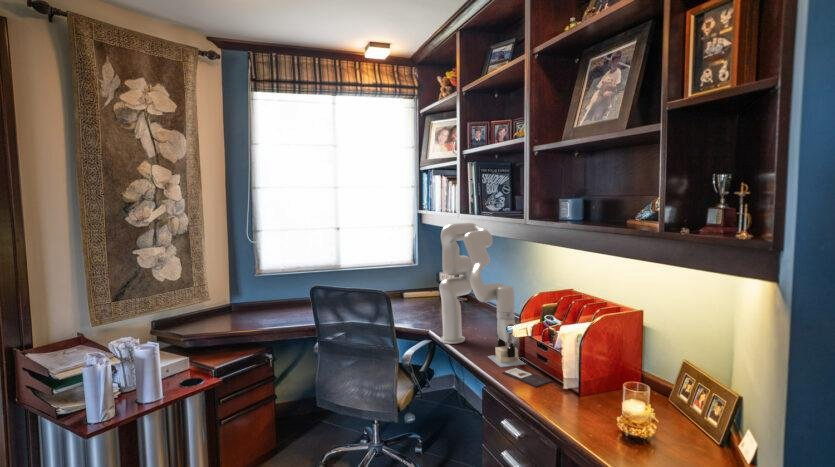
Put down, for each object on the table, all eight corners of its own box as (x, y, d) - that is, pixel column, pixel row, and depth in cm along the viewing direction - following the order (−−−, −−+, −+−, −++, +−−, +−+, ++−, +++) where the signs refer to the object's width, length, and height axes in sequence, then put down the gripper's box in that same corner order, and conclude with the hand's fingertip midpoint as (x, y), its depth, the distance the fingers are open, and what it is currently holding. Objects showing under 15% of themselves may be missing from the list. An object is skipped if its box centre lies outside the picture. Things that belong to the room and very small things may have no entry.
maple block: (512, 356, 201) (512, 345, 200) (518, 360, 195) (517, 349, 195) (495, 358, 199) (495, 347, 199) (500, 362, 194) (500, 351, 193)
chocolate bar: (536, 386, 167) (502, 372, 182) (536, 388, 167) (502, 374, 182) (552, 380, 172) (518, 367, 187) (552, 383, 172) (518, 369, 187)
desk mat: (487, 356, 202) (487, 356, 202) (512, 353, 205) (512, 353, 205) (500, 367, 189) (500, 366, 189) (527, 364, 192) (527, 363, 192)
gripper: (522, 318, 188) (523, 358, 190) (505, 309, 205) (505, 346, 206) (506, 320, 187) (507, 360, 188) (489, 310, 203) (490, 348, 205)
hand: (506, 353), depth 197 cm, fingers open, 9 cm apart
